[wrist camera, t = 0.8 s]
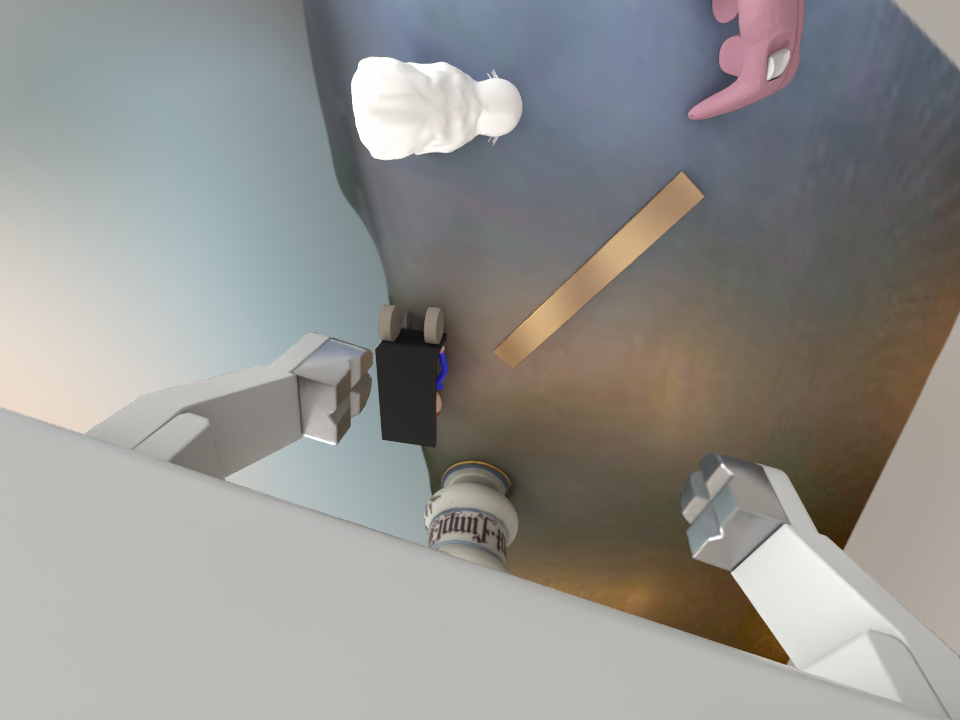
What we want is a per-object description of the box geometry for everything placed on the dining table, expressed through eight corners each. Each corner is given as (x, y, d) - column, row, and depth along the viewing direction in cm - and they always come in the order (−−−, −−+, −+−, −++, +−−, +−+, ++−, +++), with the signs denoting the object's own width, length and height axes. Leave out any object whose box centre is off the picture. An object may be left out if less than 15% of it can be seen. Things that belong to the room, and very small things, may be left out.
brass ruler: (681, 170, 34) (682, 171, 33) (703, 196, 34) (705, 196, 34) (493, 351, 45) (492, 352, 44) (513, 367, 45) (513, 368, 45)
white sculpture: (333, 50, 25) (529, 44, 24) (368, 65, 32) (520, 60, 32) (352, 165, 28) (526, 160, 28) (381, 154, 35) (518, 151, 35)
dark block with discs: (392, 290, 44) (398, 408, 50) (366, 312, 37) (377, 445, 43) (453, 295, 43) (451, 413, 50) (438, 318, 36) (438, 452, 43)
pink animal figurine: (730, 104, 32) (823, 78, 26) (683, 129, 32) (767, 109, 25) (711, -51, 28) (818, -127, 22) (656, -26, 27) (750, -96, 21)
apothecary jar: (522, 515, 58) (517, 658, 43) (441, 513, 60) (409, 649, 45) (517, 454, 52) (509, 594, 37) (427, 454, 54) (384, 587, 39)
